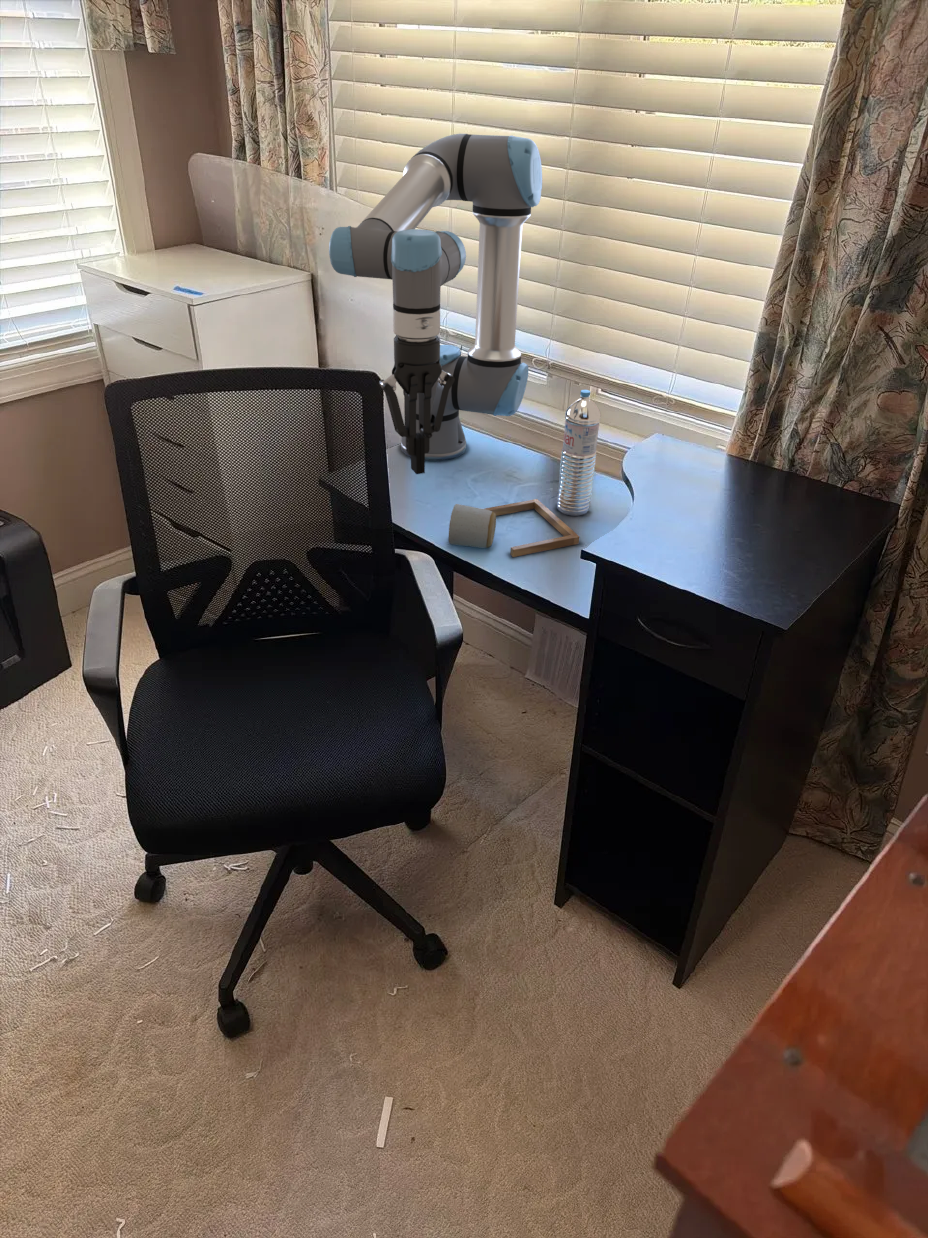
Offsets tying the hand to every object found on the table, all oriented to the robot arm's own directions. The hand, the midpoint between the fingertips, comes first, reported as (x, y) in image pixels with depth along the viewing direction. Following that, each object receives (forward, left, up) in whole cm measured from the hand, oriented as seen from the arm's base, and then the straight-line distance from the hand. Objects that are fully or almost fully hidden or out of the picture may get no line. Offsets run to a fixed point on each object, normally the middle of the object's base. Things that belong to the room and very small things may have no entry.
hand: (417, 470), depth 151 cm
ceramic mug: (0, +11, -17) cm, 20 cm away
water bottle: (-4, +36, -17) cm, 40 cm away
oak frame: (0, +22, -16) cm, 27 cm away
